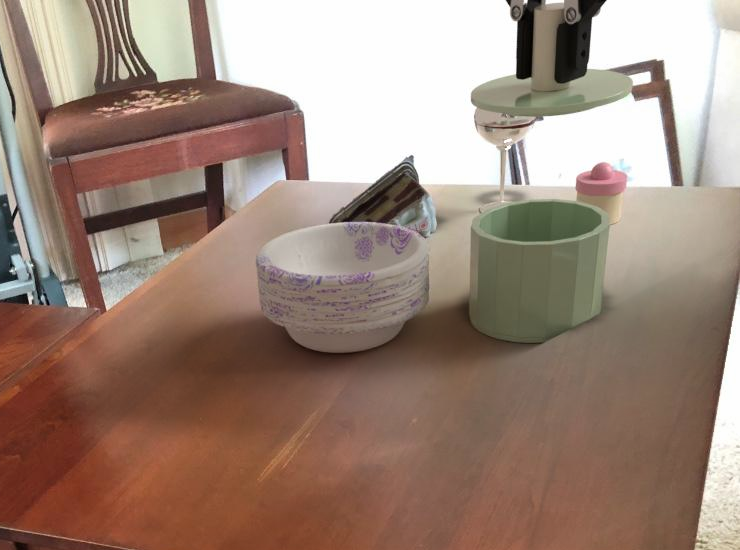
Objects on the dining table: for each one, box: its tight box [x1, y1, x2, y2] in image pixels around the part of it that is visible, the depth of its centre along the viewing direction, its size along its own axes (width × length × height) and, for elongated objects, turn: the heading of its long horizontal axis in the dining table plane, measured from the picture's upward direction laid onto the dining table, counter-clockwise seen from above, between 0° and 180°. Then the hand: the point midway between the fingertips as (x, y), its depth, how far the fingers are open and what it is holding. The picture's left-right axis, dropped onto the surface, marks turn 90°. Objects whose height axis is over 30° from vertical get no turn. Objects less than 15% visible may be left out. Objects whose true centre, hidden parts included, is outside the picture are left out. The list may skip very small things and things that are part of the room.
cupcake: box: [575, 161, 628, 226], centre depth 103 cm, size 5×5×6 cm
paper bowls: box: [255, 222, 430, 354], centre depth 86 cm, size 15×15×8 cm
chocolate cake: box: [327, 154, 438, 238], centre depth 106 cm, size 10×7×12 cm
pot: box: [468, 198, 611, 344], centre depth 84 cm, size 11×11×8 cm
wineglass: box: [473, 106, 538, 213], centre depth 106 cm, size 7×7×12 cm
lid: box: [470, 2, 634, 118], centre depth 74 cm, size 12×12×7 cm
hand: (550, 75), depth 75 cm, fingers closed on lid, 3 cm apart
